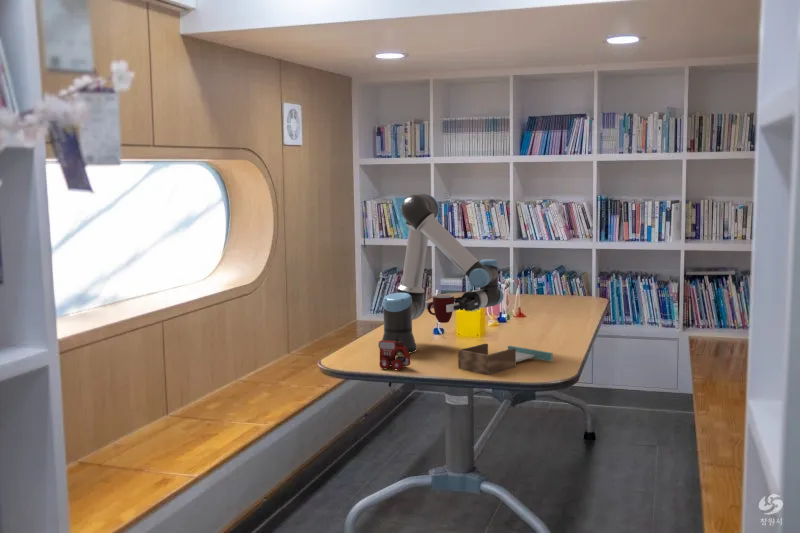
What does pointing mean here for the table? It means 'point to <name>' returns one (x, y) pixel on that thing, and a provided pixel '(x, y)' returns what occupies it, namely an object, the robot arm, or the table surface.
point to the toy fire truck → (393, 354)
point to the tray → (530, 354)
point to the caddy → (486, 359)
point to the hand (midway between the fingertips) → (436, 307)
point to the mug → (441, 307)
